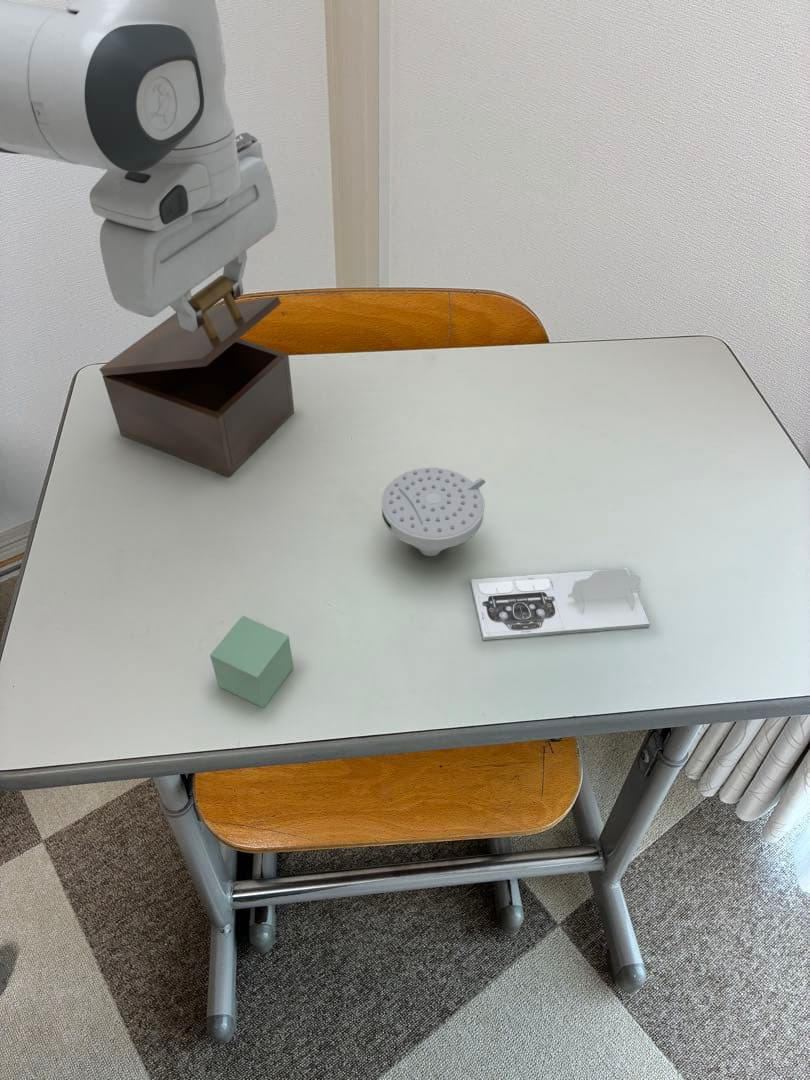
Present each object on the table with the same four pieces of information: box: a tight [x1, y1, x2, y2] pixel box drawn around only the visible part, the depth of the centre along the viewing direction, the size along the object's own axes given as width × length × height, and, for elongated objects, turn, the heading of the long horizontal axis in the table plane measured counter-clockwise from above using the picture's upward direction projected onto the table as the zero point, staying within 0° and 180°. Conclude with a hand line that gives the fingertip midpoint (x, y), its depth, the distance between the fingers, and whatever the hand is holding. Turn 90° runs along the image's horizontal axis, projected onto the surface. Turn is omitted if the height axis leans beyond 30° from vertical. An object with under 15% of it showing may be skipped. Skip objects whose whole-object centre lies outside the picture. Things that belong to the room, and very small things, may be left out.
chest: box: [102, 337, 295, 478], centre depth 87 cm, size 15×13×8 cm
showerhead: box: [381, 467, 486, 557], centre depth 75 cm, size 9×7×10 cm
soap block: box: [209, 615, 294, 709], centre depth 65 cm, size 4×4×4 cm
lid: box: [99, 274, 282, 377], centre depth 80 cm, size 15×13×5 cm
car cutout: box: [470, 567, 651, 641], centre depth 71 cm, size 15×7×4 cm, turn 96°
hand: (212, 311), depth 77 cm, fingers closed on lid, 5 cm apart
